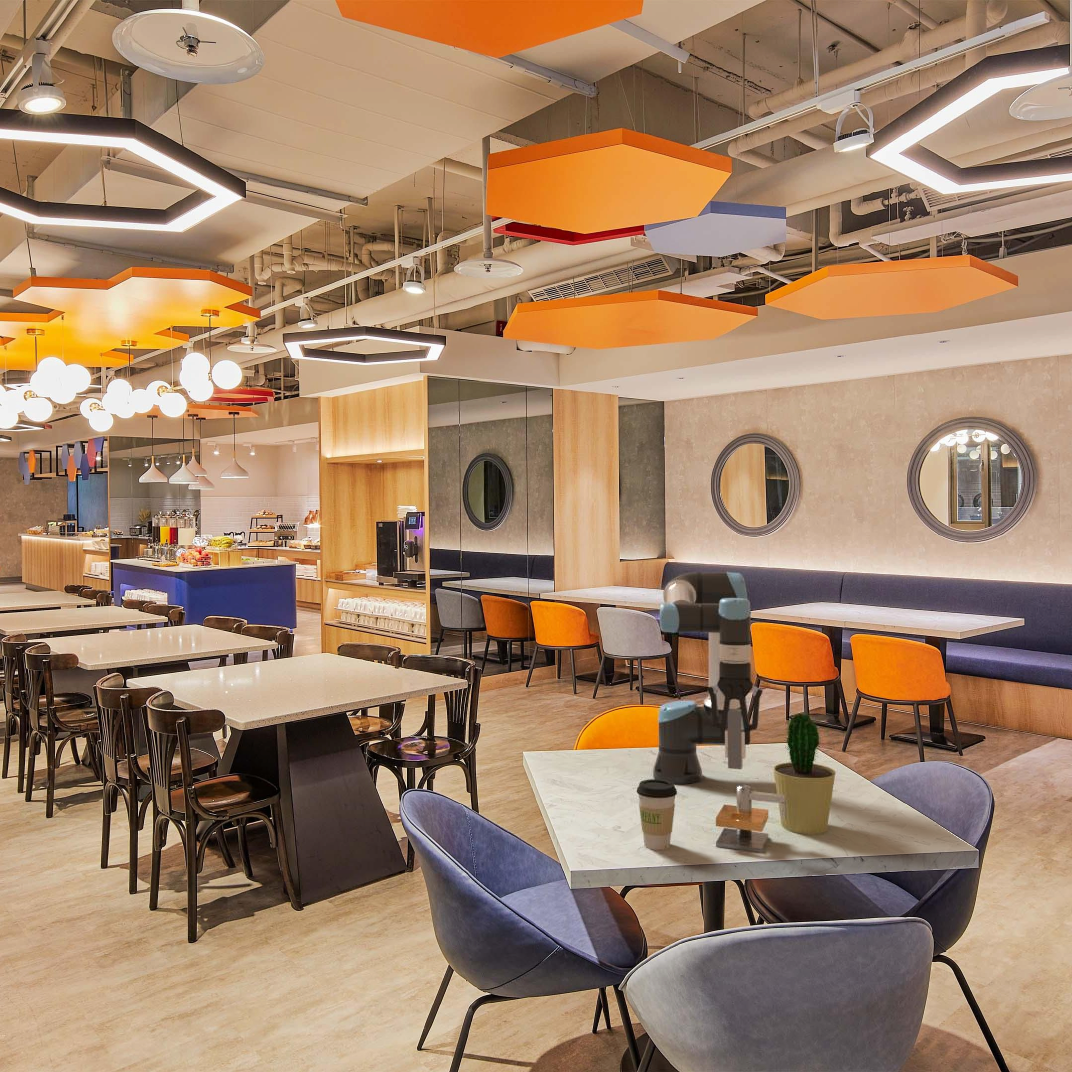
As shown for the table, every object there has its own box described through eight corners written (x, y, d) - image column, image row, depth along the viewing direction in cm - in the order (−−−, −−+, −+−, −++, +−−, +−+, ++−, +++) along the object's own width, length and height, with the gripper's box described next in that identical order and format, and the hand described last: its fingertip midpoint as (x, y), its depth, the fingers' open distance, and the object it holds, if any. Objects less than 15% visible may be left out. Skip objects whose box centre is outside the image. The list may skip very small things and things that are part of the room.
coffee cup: (633, 838, 216) (632, 778, 216) (671, 837, 217) (671, 777, 217) (641, 853, 206) (641, 790, 206) (681, 852, 207) (681, 789, 207)
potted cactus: (827, 841, 213) (827, 720, 213) (765, 830, 221) (765, 713, 221) (841, 823, 226) (841, 709, 226) (783, 813, 234) (782, 703, 234)
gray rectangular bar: (729, 765, 214) (729, 708, 214) (742, 766, 213) (742, 709, 213) (728, 768, 211) (727, 710, 211) (741, 769, 210) (741, 711, 210)
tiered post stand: (715, 846, 210) (715, 793, 210) (724, 831, 220) (724, 781, 220) (781, 855, 204) (781, 800, 204) (787, 840, 214) (786, 787, 214)
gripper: (699, 661, 211) (699, 757, 211) (768, 664, 206) (768, 763, 206) (703, 657, 218) (704, 750, 218) (770, 660, 213) (770, 755, 213)
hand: (735, 756), depth 212 cm, fingers closed on gray rectangular bar, 3 cm apart
